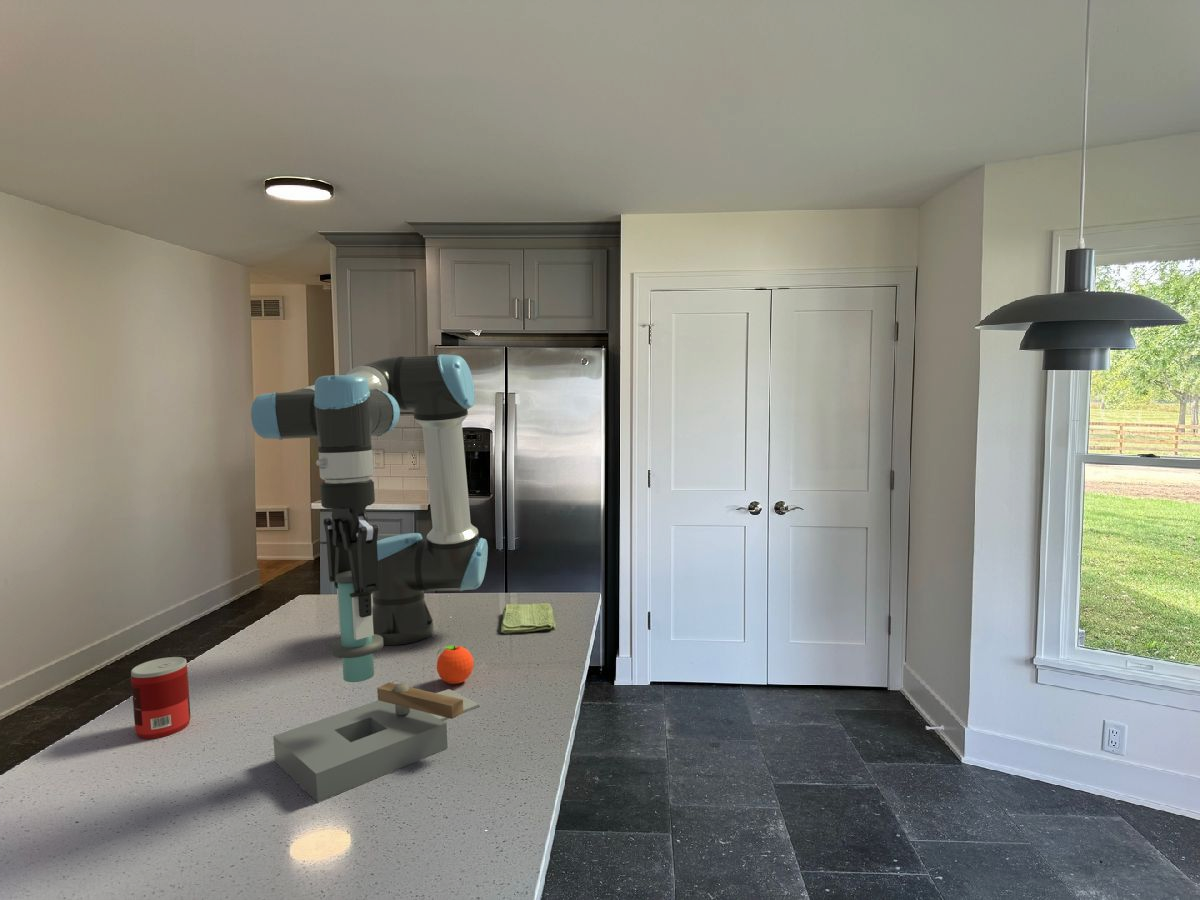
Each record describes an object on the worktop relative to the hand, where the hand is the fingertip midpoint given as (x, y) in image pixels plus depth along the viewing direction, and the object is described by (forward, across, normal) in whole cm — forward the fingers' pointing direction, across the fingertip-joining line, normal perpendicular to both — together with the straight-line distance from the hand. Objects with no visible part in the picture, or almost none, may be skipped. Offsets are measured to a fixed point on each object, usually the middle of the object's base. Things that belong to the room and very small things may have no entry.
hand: (356, 632), depth 105 cm
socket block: (+19, 0, 0) cm, 19 cm away
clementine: (+19, -14, +25) cm, 34 cm away
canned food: (+19, -34, -19) cm, 43 cm away
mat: (+19, -6, +17) cm, 26 cm away
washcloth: (+20, -32, +57) cm, 69 cm away
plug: (+7, 0, 0) cm, 7 cm away
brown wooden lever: (+15, +4, +8) cm, 17 cm away
